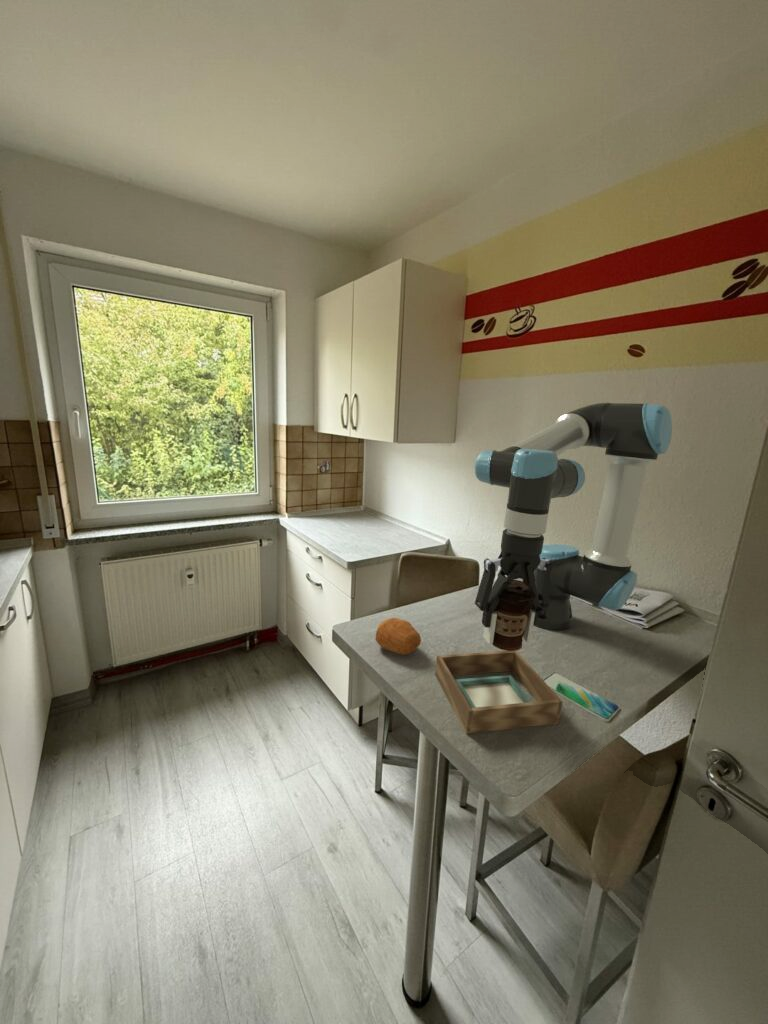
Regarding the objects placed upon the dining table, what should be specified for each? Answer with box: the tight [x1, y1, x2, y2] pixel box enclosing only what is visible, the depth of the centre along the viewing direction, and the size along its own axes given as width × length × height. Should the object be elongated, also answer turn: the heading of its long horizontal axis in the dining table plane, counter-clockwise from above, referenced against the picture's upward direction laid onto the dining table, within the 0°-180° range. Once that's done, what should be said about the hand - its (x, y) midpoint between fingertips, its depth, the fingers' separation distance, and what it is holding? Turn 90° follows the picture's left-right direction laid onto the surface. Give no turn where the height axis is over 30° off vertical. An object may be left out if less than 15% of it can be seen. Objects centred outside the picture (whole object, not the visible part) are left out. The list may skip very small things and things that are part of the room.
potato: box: [375, 617, 422, 656], centre depth 103 cm, size 9×11×8 cm
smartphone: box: [542, 672, 620, 723], centre depth 91 cm, size 7×1×15 cm
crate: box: [434, 650, 564, 735], centre depth 88 cm, size 20×18×5 cm
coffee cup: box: [491, 579, 536, 652], centre depth 81 cm, size 9×8×13 cm
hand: (506, 639), depth 83 cm, fingers closed on coffee cup, 8 cm apart
